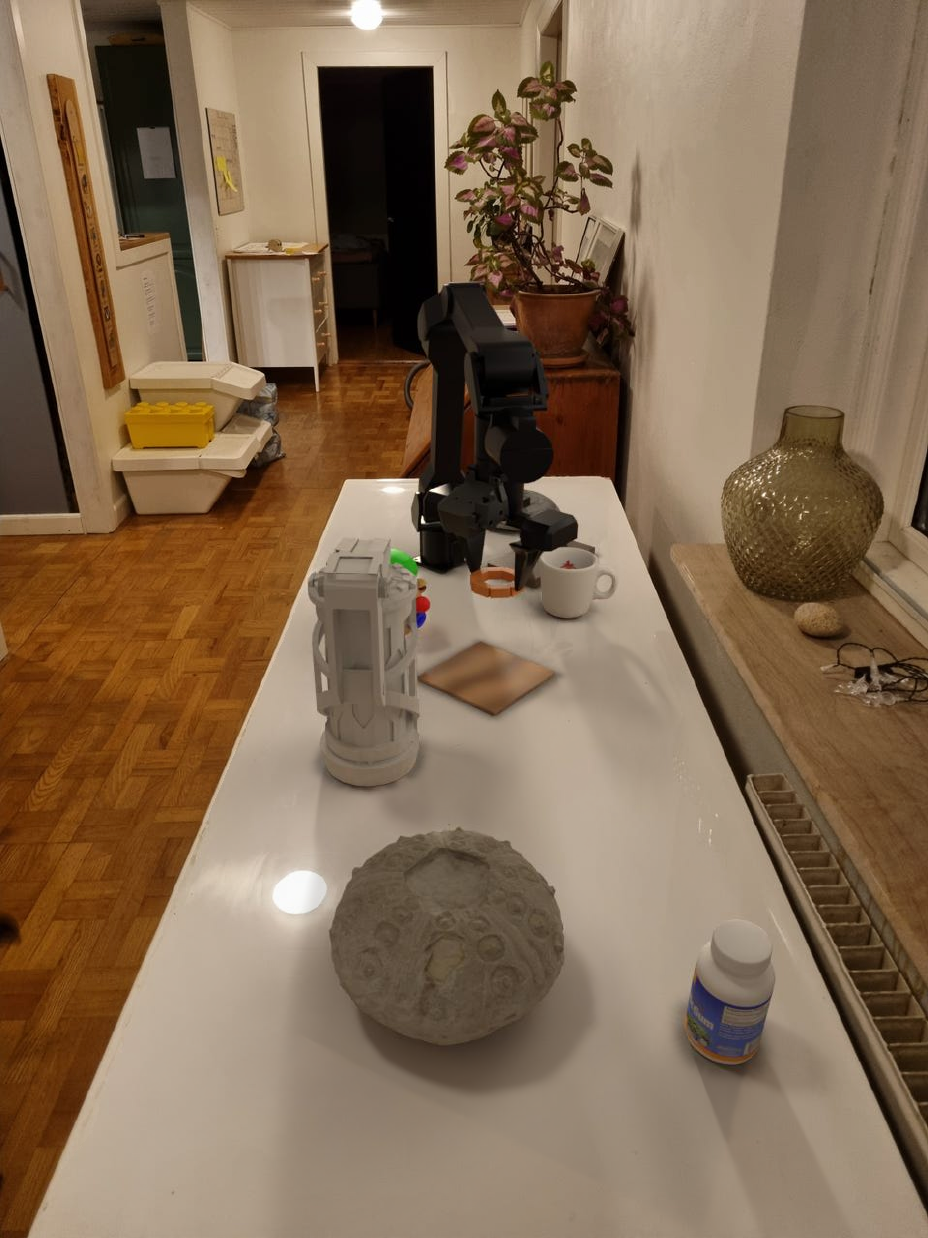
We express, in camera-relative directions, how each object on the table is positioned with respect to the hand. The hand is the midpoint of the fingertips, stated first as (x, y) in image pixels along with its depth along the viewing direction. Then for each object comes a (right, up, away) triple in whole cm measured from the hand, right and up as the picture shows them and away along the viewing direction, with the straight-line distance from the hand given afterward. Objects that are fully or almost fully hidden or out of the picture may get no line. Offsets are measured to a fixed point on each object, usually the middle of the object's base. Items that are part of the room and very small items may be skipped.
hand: (496, 582), depth 110 cm
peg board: (+8, +4, +33) cm, 34 cm away
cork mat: (-1, -12, +2) cm, 12 cm away
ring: (0, -1, 0) cm, 1 cm away
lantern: (-14, -20, -14) cm, 28 cm away
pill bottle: (+15, -35, -42) cm, 57 cm away
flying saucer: (+5, +12, +49) cm, 51 cm away
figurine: (-13, -7, +11) cm, 19 cm away
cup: (+12, -3, +18) cm, 22 cm away
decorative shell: (-5, -33, -37) cm, 50 cm away
